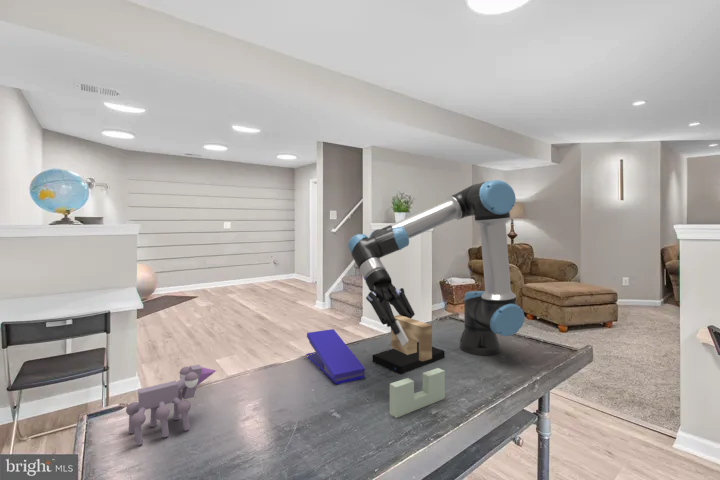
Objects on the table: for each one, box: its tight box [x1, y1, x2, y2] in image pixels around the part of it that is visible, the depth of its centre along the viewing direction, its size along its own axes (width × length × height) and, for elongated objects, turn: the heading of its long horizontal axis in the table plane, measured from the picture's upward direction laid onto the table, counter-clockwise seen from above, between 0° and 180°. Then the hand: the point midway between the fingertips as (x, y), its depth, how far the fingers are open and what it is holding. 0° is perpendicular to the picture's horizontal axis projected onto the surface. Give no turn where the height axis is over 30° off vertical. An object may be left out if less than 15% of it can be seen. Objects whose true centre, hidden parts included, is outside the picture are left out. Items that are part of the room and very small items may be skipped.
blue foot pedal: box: [305, 328, 366, 385], centre depth 124 cm, size 12×28×10 cm, turn 29°
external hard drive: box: [371, 341, 446, 375], centre depth 130 cm, size 14×23×3 cm, turn 129°
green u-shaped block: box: [389, 367, 446, 418], centre depth 96 cm, size 18×2×8 cm, turn 124°
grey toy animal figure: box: [125, 364, 217, 446], centre depth 87 cm, size 20×11×14 cm, turn 127°
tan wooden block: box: [390, 314, 433, 361], centre depth 98 cm, size 13×4×9 cm, turn 34°
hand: (411, 341), depth 98 cm, fingers closed on tan wooden block, 3 cm apart
